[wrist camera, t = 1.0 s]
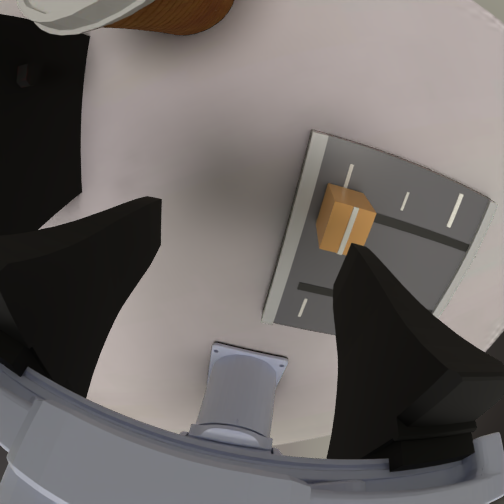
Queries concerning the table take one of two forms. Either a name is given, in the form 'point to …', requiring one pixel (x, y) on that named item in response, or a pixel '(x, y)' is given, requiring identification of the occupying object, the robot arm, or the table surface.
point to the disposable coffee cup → (125, 15)
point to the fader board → (376, 231)
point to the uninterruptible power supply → (38, 122)
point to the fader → (343, 219)
